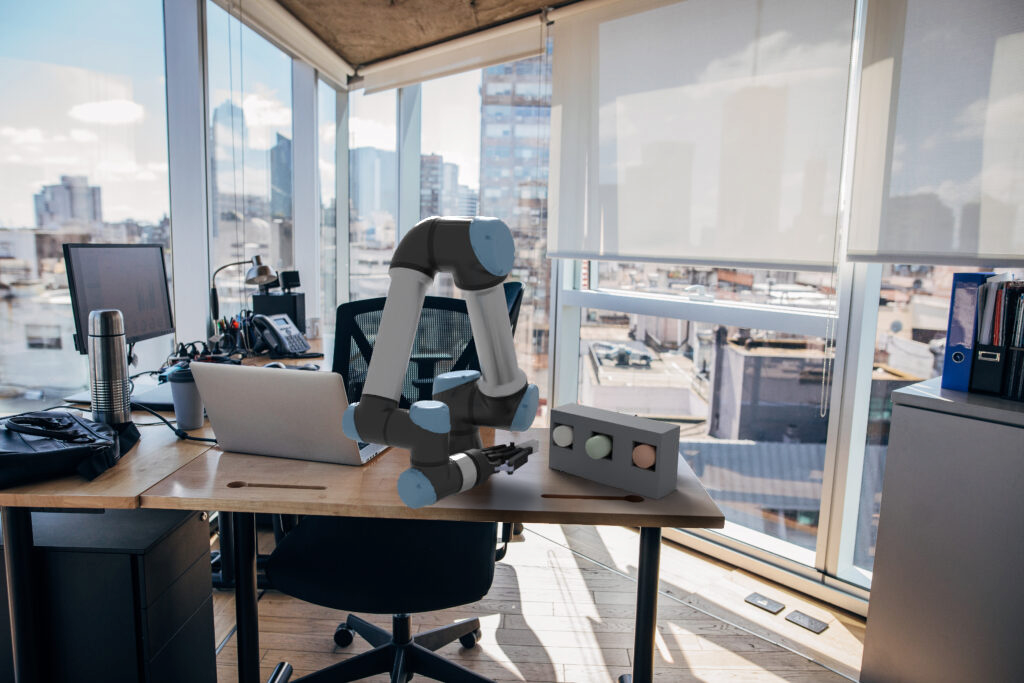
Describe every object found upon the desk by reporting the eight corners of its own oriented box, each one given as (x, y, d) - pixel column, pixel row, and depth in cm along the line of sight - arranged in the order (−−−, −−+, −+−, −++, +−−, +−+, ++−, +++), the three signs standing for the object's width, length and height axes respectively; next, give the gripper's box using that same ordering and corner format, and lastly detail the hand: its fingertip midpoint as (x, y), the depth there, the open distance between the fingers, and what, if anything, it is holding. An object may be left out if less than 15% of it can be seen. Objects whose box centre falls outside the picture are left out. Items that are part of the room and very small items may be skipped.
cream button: (569, 448, 157) (570, 428, 156) (552, 444, 160) (553, 424, 159) (578, 445, 160) (579, 425, 159) (562, 440, 163) (562, 421, 162)
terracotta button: (651, 470, 143) (653, 448, 142) (631, 465, 146) (632, 443, 145) (660, 466, 146) (661, 444, 145) (640, 460, 149) (641, 439, 148)
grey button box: (657, 499, 143) (661, 433, 141) (548, 467, 162) (550, 409, 160) (676, 488, 150) (680, 425, 148) (569, 459, 169) (571, 402, 167)
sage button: (603, 461, 148) (604, 440, 147) (584, 456, 151) (585, 435, 150) (612, 457, 151) (613, 436, 150) (594, 452, 154) (595, 432, 154)
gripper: (442, 480, 137) (513, 454, 155) (488, 496, 129) (558, 467, 147) (442, 446, 136) (514, 424, 154) (489, 460, 128) (559, 435, 146)
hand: (535, 445), depth 150 cm, fingers closed
